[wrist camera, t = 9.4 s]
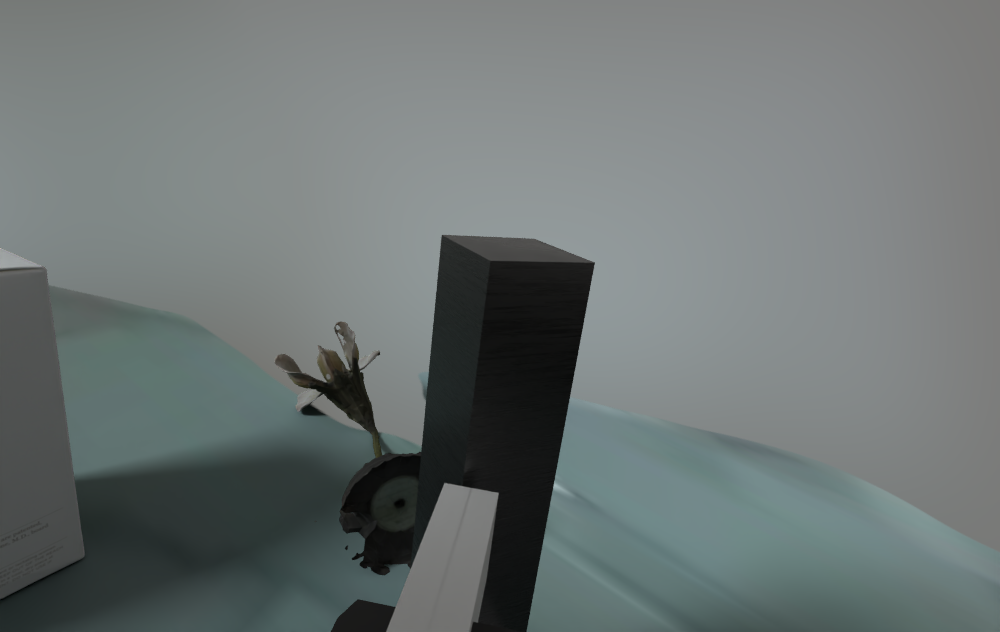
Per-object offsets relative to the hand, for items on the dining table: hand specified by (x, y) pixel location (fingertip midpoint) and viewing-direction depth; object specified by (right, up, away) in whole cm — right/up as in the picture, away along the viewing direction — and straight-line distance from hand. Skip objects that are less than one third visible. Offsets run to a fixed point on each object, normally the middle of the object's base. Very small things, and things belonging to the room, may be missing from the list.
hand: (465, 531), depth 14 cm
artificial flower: (-10, -4, +23) cm, 26 cm away
